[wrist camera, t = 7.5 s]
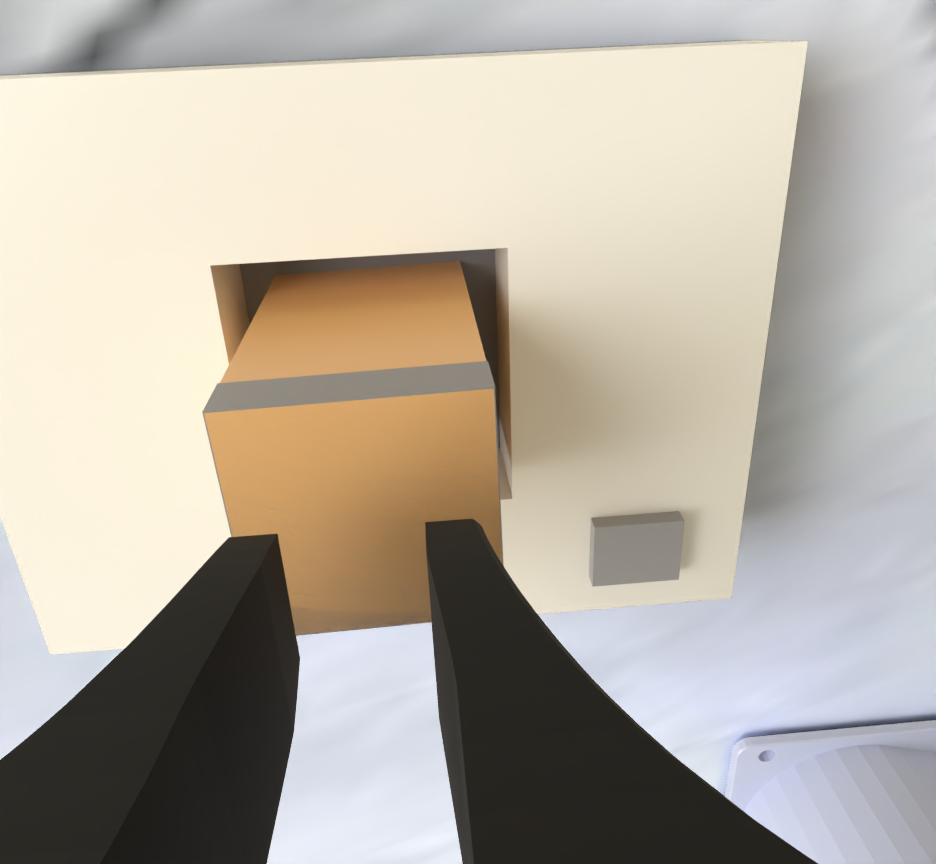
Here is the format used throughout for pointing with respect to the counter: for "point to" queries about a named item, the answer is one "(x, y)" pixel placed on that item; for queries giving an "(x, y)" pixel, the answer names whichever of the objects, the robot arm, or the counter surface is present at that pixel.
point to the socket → (383, 245)
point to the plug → (358, 436)
